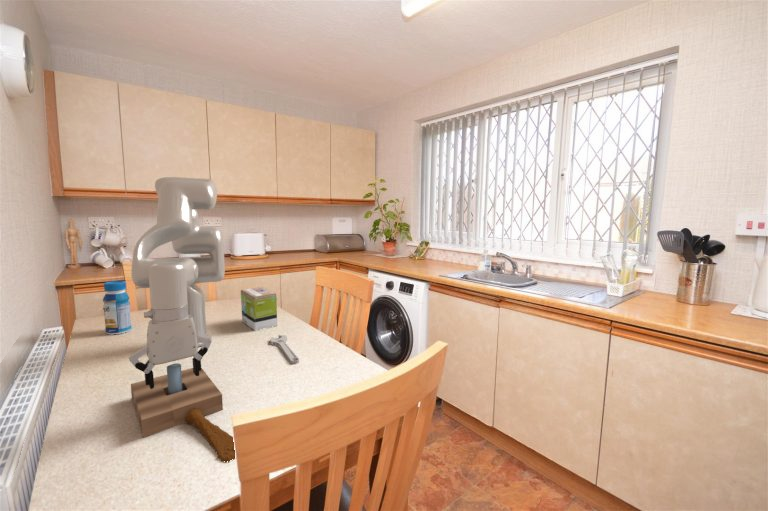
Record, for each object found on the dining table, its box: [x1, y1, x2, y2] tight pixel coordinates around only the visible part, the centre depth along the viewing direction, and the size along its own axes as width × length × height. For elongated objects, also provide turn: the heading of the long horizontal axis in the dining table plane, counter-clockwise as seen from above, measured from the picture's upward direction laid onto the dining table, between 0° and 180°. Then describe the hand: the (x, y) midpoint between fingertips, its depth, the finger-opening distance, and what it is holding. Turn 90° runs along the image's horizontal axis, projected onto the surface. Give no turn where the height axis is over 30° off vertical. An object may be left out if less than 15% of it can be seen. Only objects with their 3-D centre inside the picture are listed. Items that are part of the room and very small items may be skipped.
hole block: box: [130, 367, 224, 438], centre depth 85 cm, size 20×16×4 cm
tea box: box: [240, 286, 278, 331], centre depth 145 cm, size 15×10×15 cm
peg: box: [166, 362, 183, 395], centre depth 84 cm, size 3×3×10 cm
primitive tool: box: [185, 409, 235, 463], centre depth 72 cm, size 19×6×4 cm, turn 57°
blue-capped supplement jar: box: [102, 280, 132, 336], centre depth 133 cm, size 8×8×20 cm
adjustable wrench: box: [269, 334, 300, 365], centre depth 119 cm, size 25×6×2 cm, turn 27°
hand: (174, 380), depth 84 cm, fingers open, 9 cm apart
